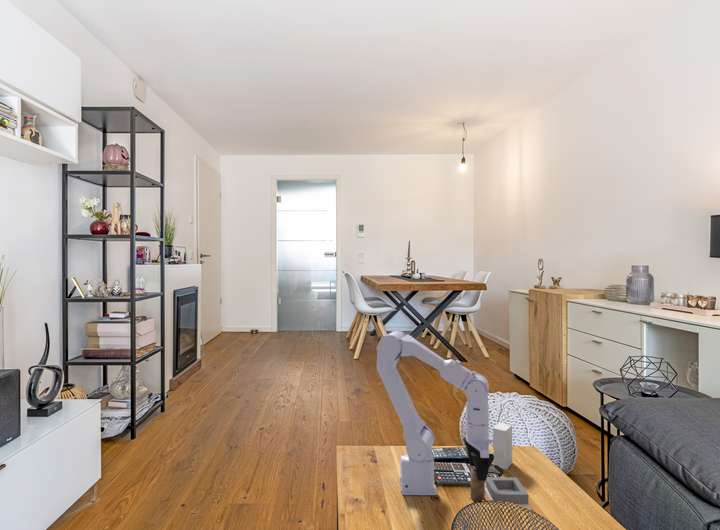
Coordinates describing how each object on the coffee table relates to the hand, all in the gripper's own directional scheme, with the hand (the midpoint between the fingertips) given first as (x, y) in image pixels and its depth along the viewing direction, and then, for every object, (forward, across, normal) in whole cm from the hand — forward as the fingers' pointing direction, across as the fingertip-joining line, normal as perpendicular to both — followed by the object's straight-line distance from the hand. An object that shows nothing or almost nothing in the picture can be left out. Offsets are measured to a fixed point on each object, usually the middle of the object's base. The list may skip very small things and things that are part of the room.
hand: (477, 472), depth 113 cm
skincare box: (+7, +19, -12) cm, 24 cm away
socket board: (+7, 0, -7) cm, 10 cm away
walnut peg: (+7, 0, 0) cm, 7 cm away
